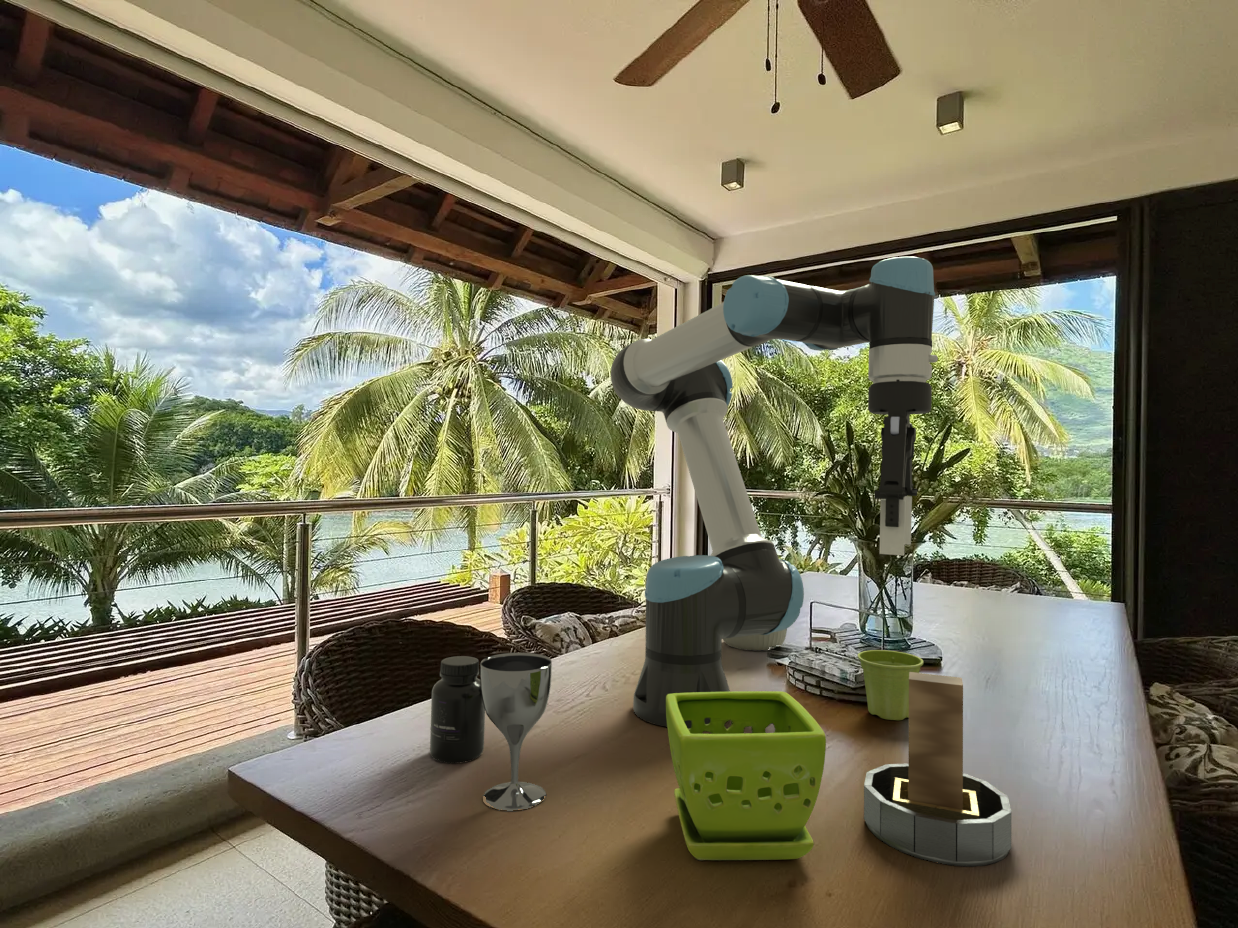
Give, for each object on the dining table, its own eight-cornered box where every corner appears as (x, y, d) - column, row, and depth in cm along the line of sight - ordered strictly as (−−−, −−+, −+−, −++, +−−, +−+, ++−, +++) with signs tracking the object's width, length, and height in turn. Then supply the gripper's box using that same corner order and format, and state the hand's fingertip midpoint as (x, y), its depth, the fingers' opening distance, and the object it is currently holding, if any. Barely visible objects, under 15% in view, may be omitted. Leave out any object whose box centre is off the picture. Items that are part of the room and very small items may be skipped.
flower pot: (788, 804, 77) (789, 688, 77) (830, 876, 63) (831, 735, 63) (661, 804, 77) (663, 688, 77) (676, 877, 63) (678, 735, 63)
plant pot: (929, 727, 102) (929, 667, 102) (861, 722, 104) (862, 663, 104) (915, 706, 111) (915, 651, 111) (853, 702, 113) (853, 648, 113)
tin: (859, 846, 68) (859, 805, 68) (869, 790, 81) (870, 755, 81) (1017, 880, 63) (1017, 835, 63) (1002, 814, 75) (1002, 777, 75)
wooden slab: (908, 826, 71) (908, 678, 72) (908, 813, 74) (909, 671, 74) (962, 837, 69) (963, 685, 70) (961, 823, 72) (961, 677, 72)
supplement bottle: (430, 767, 86) (431, 668, 86) (429, 746, 92) (431, 655, 93) (486, 761, 88) (488, 665, 88) (482, 741, 94) (484, 652, 94)
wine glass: (516, 774, 84) (518, 649, 84) (564, 794, 79) (566, 660, 79) (463, 797, 78) (465, 662, 78) (511, 820, 73) (513, 675, 73)
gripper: (928, 368, 76) (924, 562, 76) (934, 391, 99) (931, 541, 99) (856, 371, 80) (852, 557, 80) (878, 393, 102) (875, 538, 102)
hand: (896, 549), depth 89 cm, fingers open, 13 cm apart
